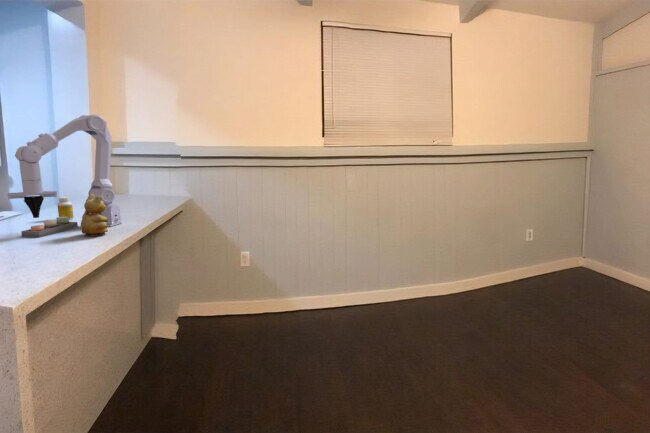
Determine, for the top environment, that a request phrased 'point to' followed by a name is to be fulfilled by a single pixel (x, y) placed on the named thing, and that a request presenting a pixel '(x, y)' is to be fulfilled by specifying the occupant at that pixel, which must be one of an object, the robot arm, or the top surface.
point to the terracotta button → (37, 228)
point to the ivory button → (50, 223)
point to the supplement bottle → (65, 208)
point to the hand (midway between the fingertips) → (36, 217)
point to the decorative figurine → (94, 217)
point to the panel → (49, 230)
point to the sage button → (62, 220)
